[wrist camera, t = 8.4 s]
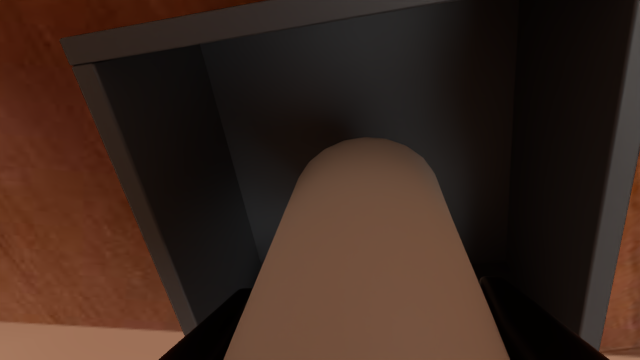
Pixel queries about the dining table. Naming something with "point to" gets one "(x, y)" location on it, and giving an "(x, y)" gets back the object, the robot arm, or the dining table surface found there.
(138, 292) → the dining table surface
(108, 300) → the dining table surface
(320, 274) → the beverage can
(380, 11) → the waste bin
